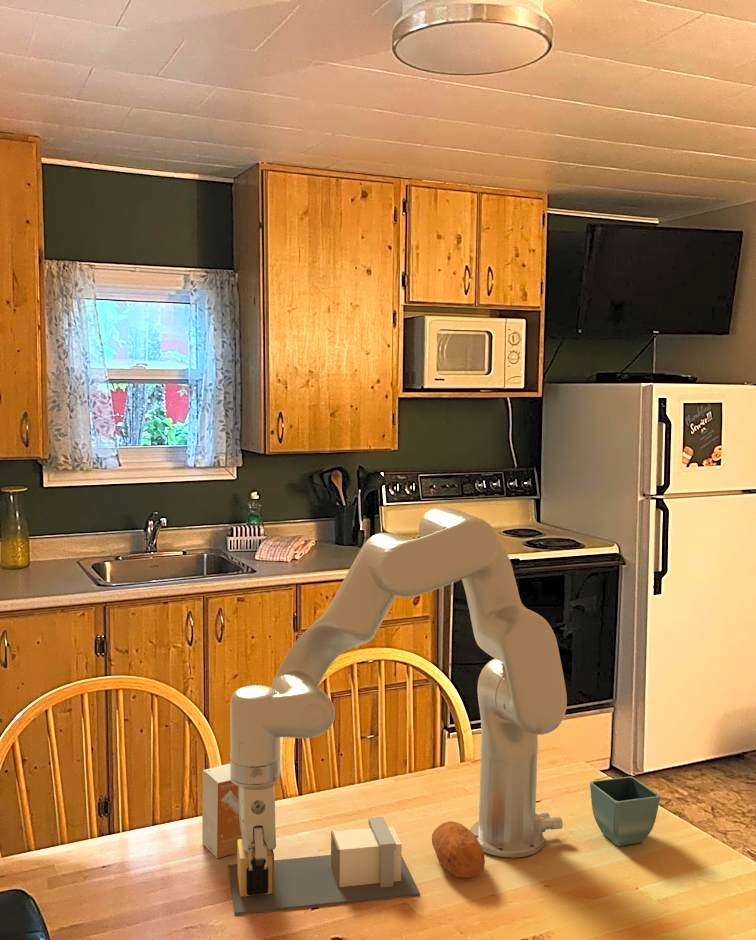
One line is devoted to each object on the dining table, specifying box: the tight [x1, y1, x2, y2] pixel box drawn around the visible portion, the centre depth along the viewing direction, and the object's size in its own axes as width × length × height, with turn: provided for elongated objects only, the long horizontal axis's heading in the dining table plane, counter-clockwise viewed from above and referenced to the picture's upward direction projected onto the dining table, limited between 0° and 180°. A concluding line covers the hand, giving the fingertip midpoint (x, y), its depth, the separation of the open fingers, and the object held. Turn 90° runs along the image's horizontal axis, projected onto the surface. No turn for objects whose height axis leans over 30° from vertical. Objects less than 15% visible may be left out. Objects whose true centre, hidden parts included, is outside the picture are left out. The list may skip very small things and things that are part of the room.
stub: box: [236, 839, 275, 897], centre depth 148 cm, size 5×6×6 cm
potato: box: [431, 820, 486, 878], centre depth 155 cm, size 7×13×7 cm, turn 11°
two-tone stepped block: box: [330, 816, 403, 887], centre depth 152 cm, size 10×9×7 cm
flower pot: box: [589, 775, 661, 847], centre depth 165 cm, size 9×9×9 cm
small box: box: [201, 763, 242, 859], centre depth 161 cm, size 8×6×13 cm
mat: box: [228, 854, 421, 916], centre depth 150 cm, size 28×14×1 cm, turn 102°
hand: (255, 879), depth 148 cm, fingers open, 7 cm apart
